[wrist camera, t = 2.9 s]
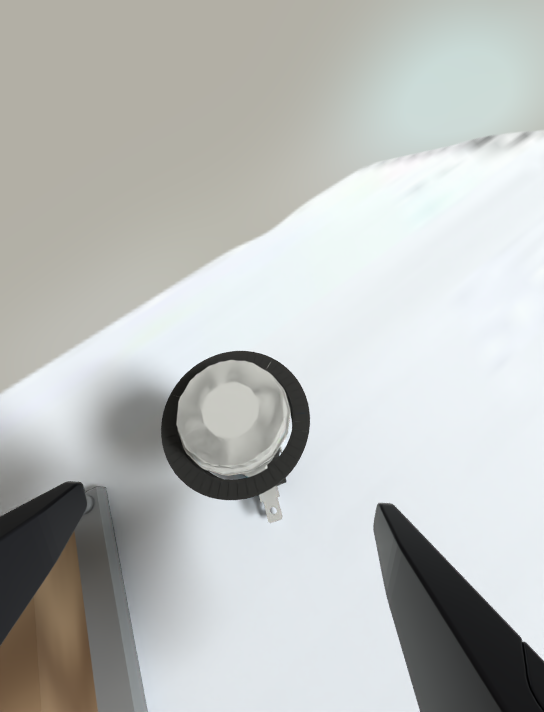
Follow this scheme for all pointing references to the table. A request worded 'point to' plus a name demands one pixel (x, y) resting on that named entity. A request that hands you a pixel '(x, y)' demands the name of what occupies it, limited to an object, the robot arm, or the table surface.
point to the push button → (236, 427)
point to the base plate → (107, 611)
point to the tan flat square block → (50, 647)
